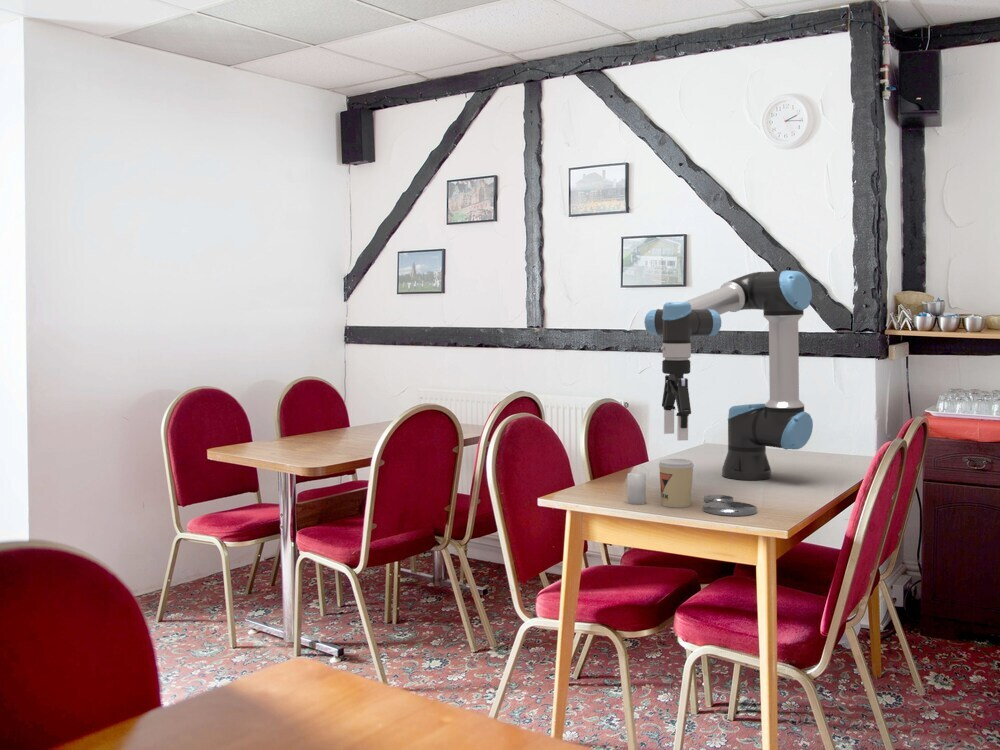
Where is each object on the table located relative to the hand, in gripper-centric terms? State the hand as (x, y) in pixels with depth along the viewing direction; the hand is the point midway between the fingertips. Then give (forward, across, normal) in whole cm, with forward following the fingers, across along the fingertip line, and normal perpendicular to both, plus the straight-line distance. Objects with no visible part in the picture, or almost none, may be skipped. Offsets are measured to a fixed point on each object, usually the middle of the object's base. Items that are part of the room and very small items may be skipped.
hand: (675, 436), depth 251 cm
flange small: (+19, -3, +13) cm, 23 cm away
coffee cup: (+19, 0, 0) cm, 19 cm away
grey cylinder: (+19, -4, -10) cm, 21 cm away
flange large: (+19, +9, +12) cm, 24 cm away
